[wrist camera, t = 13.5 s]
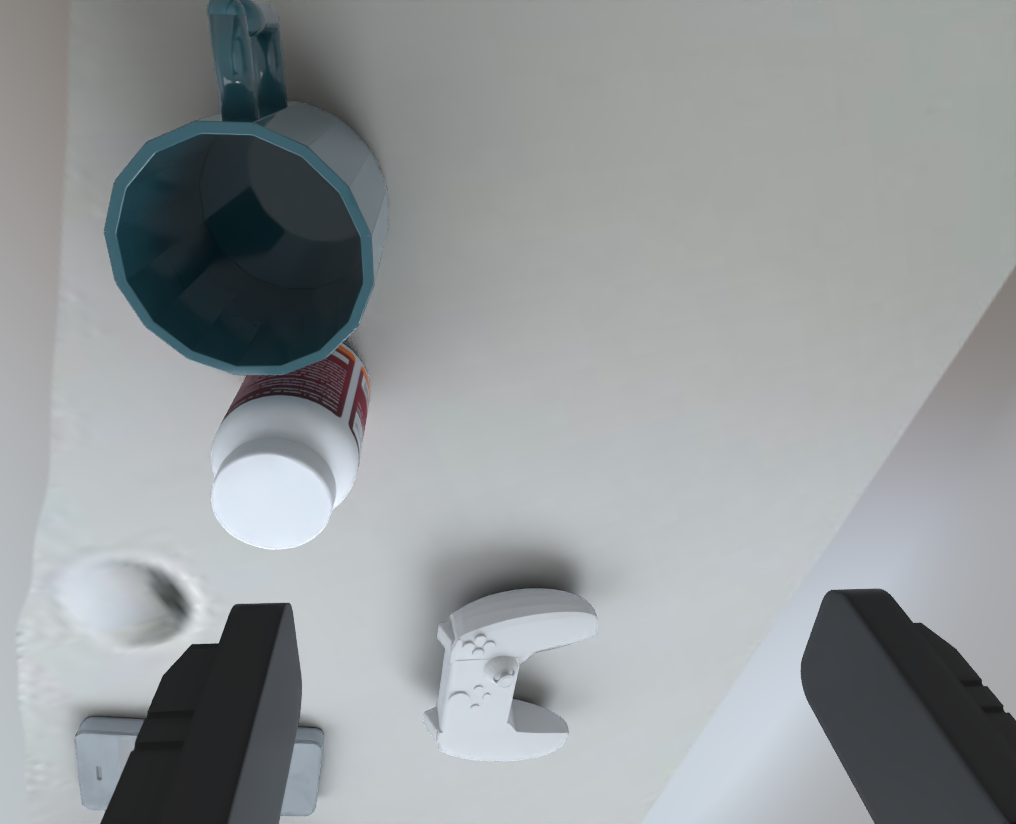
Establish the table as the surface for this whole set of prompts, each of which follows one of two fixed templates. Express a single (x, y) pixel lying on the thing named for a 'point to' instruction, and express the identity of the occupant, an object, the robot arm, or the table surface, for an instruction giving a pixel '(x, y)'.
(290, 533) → the pill bottle
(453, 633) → the game controller
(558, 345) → the table surface
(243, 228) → the teal coffee mug
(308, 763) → the phone
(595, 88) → the table surface
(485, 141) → the table surface
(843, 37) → the table surface
